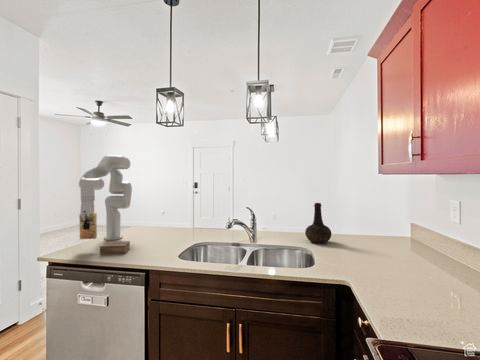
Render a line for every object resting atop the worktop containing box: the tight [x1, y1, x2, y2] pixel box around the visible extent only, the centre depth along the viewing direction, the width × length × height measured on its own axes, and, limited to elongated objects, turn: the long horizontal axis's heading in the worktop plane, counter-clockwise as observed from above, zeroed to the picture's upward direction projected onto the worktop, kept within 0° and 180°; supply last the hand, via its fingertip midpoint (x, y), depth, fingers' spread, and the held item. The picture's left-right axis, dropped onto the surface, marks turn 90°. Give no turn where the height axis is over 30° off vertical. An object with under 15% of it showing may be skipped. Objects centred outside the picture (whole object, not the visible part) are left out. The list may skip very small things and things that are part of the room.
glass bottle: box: [305, 202, 332, 244], centre depth 200 cm, size 18×18×28 cm
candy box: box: [78, 212, 98, 240], centre depth 172 cm, size 9×4×15 cm, turn 107°
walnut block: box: [99, 240, 131, 256], centre depth 171 cm, size 12×14×5 cm
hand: (88, 228), depth 172 cm, fingers closed on candy box, 4 cm apart
